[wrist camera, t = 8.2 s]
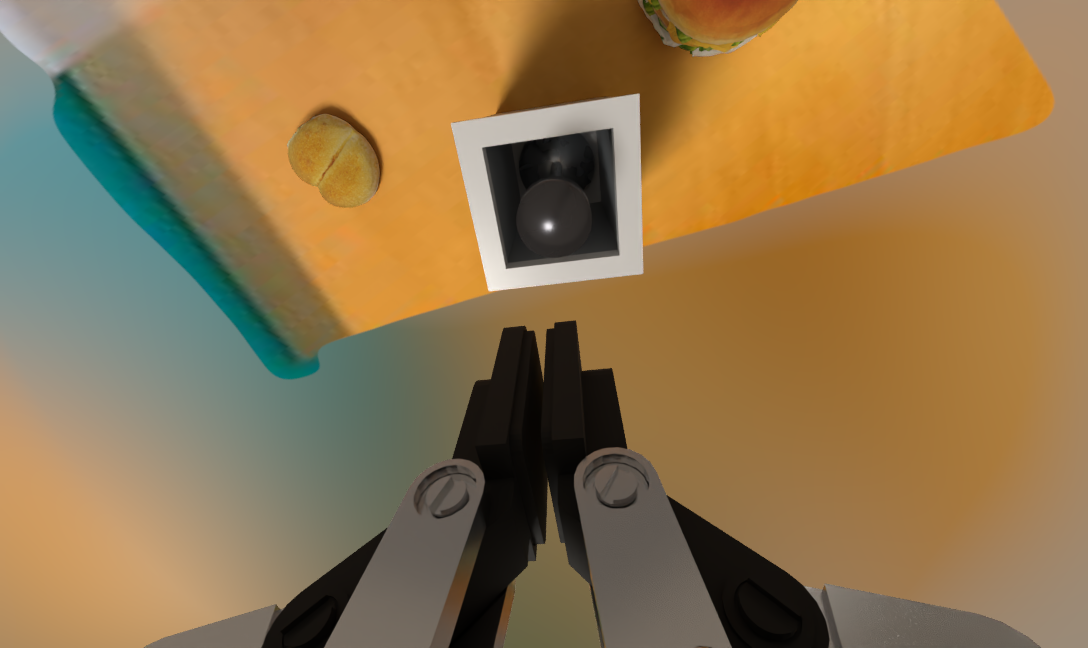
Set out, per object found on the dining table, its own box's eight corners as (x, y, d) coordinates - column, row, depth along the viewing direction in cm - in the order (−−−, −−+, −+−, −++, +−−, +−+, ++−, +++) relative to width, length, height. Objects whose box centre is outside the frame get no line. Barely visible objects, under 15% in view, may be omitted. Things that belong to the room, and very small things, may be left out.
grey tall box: (607, 93, 39) (639, 93, 24) (613, 210, 45) (643, 273, 29) (493, 111, 40) (450, 123, 25) (513, 223, 46) (489, 291, 30)
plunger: (590, 119, 39) (617, 140, 21) (596, 198, 43) (623, 274, 25) (513, 131, 40) (475, 161, 22) (526, 208, 44) (502, 288, 25)
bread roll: (356, 218, 47) (339, 228, 43) (286, 156, 43) (263, 161, 40) (399, 167, 44) (386, 174, 40) (329, 97, 41) (307, 97, 37)
